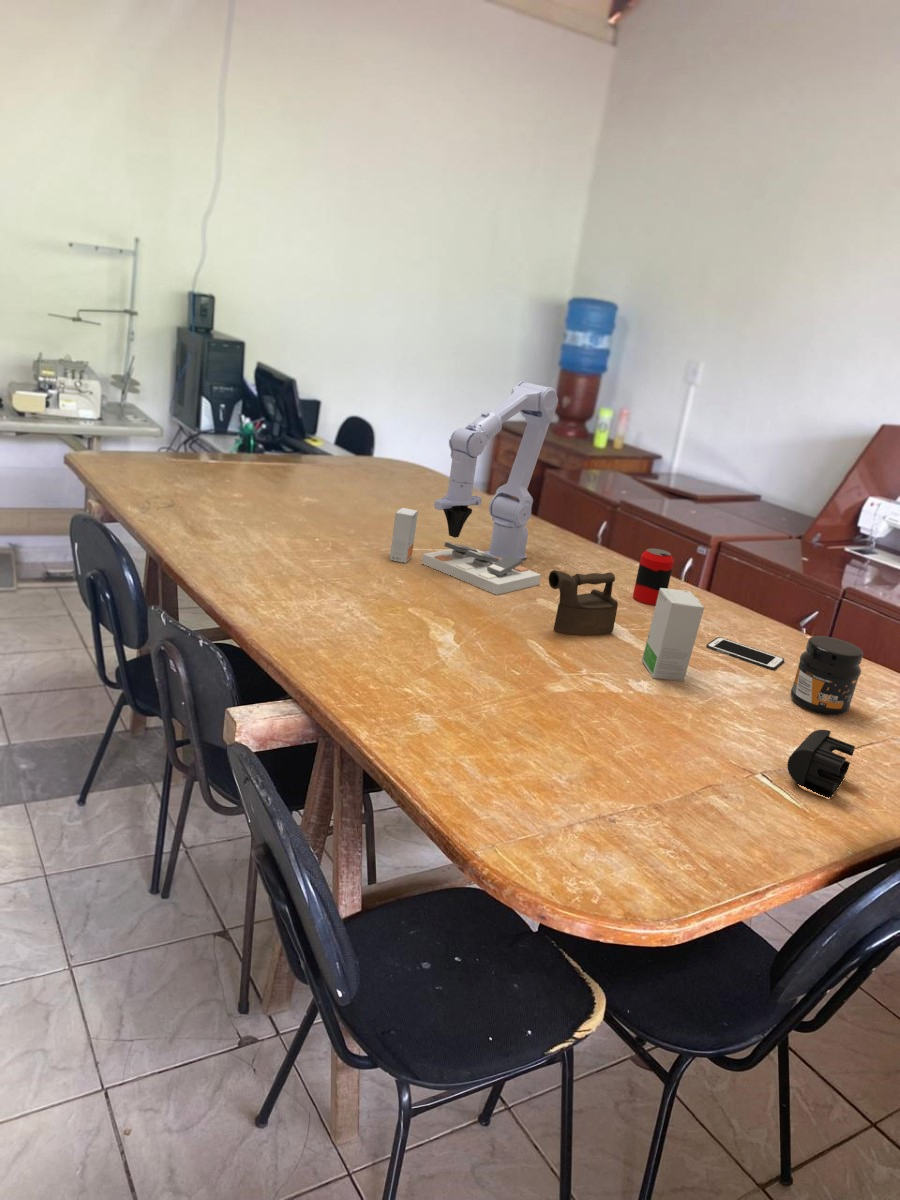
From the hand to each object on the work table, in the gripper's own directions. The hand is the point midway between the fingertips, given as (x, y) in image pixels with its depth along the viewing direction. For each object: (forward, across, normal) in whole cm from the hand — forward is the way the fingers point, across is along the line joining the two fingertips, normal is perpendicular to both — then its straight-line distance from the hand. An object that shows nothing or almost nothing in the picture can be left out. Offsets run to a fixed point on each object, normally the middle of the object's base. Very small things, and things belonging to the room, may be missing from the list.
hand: (453, 536), depth 214 cm
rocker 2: (+3, -3, +7) cm, 8 cm away
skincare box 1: (+8, +7, -10) cm, 14 cm away
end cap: (+8, +24, +100) cm, 103 cm away
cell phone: (+8, -17, +69) cm, 72 cm away
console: (+8, -3, +7) cm, 11 cm away
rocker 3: (+3, -3, +14) cm, 15 cm away
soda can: (+8, -28, +39) cm, 49 cm away
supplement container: (+8, -6, +89) cm, 90 cm away
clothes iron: (+8, +5, +41) cm, 42 cm away
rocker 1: (+3, -3, 0) cm, 5 cm away
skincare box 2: (+8, +8, +64) cm, 65 cm away
